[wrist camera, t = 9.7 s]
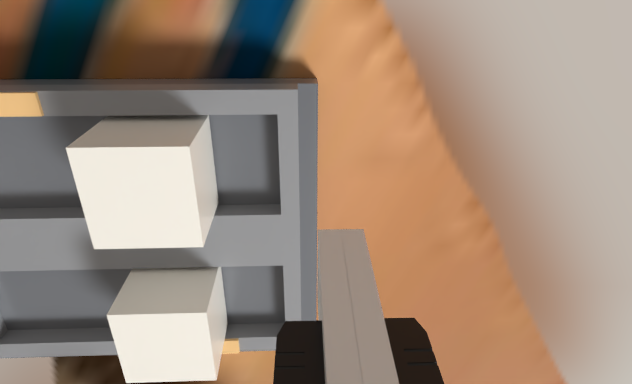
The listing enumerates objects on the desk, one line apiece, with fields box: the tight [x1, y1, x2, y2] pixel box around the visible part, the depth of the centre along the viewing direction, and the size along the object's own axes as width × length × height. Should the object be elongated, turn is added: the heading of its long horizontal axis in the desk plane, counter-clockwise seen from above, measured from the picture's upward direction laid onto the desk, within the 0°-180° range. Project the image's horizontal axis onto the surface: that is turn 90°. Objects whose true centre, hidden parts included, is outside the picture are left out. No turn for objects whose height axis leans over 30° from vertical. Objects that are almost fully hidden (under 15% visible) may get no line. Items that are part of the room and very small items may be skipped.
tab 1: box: [66, 115, 219, 249], centre depth 21 cm, size 5×5×4 cm
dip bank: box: [0, 78, 318, 358], centre depth 25 cm, size 22×17×3 cm
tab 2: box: [107, 267, 228, 383], centre depth 25 cm, size 5×5×4 cm
